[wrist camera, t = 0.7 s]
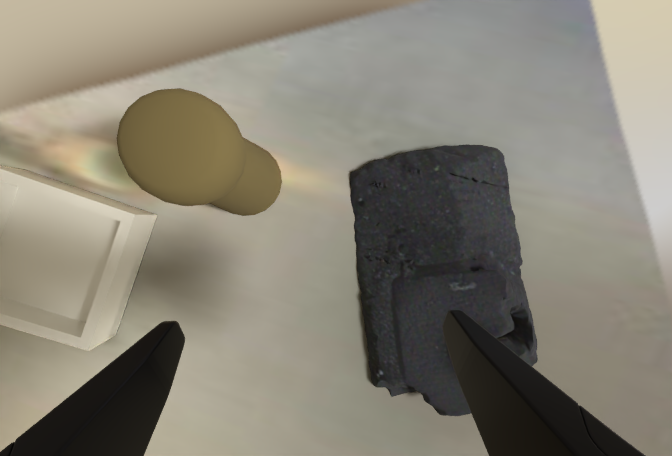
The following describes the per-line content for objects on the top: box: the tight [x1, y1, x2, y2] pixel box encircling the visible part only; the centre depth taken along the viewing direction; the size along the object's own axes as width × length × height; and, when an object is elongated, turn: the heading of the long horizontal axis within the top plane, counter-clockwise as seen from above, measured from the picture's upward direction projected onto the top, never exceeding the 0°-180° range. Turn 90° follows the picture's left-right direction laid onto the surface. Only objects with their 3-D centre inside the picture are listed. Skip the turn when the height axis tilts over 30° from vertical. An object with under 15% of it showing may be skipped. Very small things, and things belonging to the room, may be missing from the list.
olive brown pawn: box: [117, 89, 282, 216], centre depth 16 cm, size 6×6×11 cm
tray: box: [0, 166, 157, 351], centre depth 19 cm, size 11×11×2 cm
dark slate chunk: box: [350, 145, 537, 416], centre depth 21 cm, size 15×22×5 cm
